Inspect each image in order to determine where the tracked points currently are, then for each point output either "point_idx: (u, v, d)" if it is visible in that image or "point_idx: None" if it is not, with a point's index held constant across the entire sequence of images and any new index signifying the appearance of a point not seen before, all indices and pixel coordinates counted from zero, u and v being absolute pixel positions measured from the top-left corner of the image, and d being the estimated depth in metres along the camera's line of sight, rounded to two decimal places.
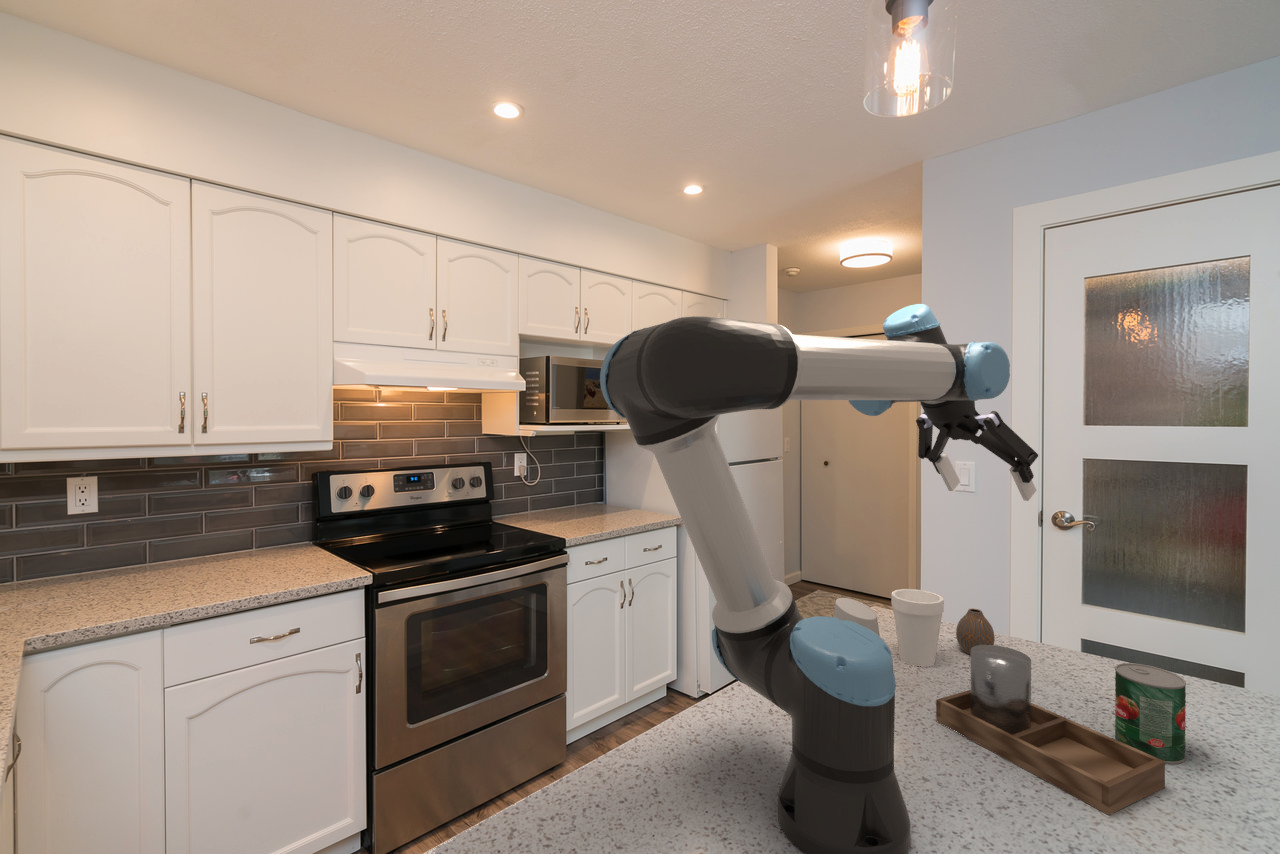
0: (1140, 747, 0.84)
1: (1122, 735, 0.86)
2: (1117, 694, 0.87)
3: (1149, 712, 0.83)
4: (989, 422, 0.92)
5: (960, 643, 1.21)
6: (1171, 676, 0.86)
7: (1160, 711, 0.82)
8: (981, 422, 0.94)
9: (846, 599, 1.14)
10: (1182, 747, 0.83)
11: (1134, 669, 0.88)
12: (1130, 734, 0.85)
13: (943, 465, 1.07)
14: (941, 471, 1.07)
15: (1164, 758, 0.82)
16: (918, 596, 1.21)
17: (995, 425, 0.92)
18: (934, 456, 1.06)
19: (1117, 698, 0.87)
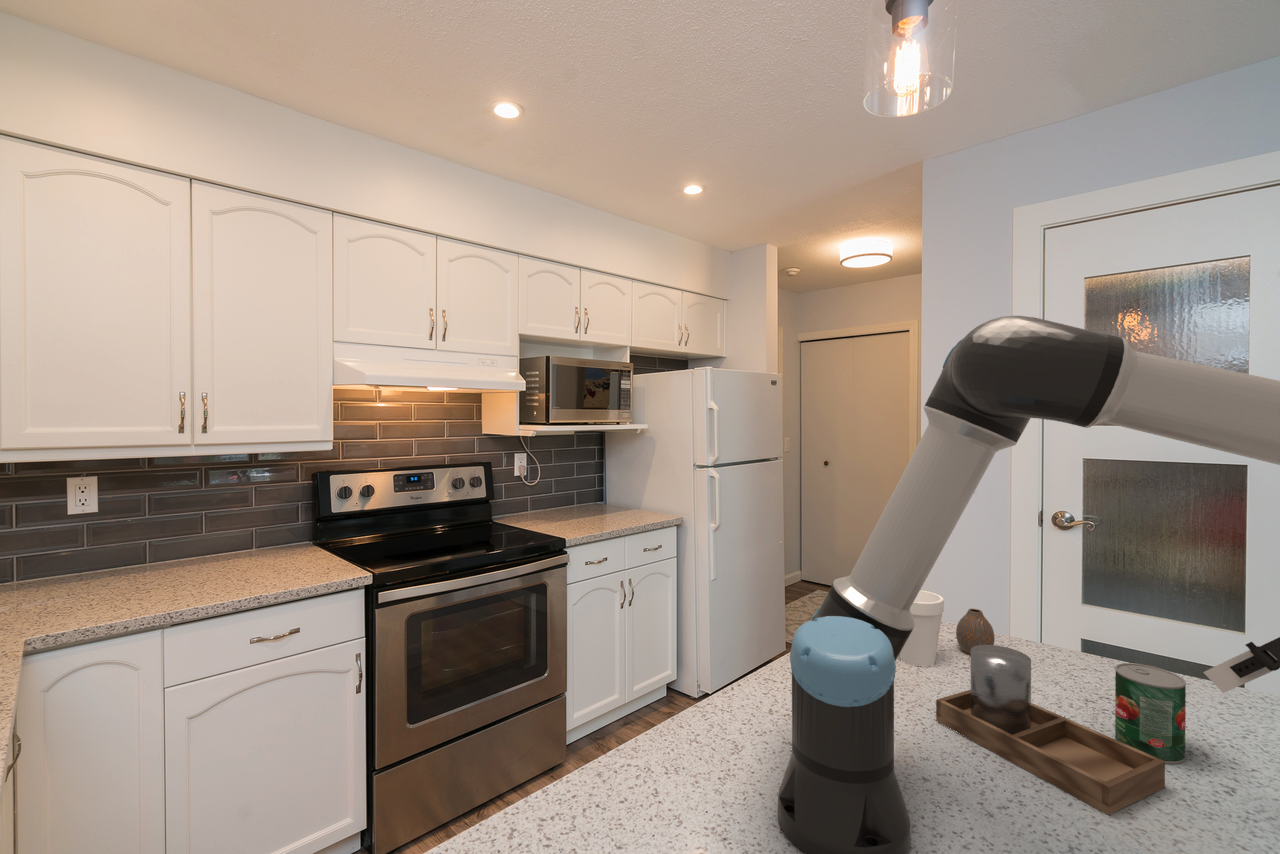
0: (1140, 747, 0.84)
1: (1122, 735, 0.86)
2: (1117, 694, 0.87)
3: (1149, 712, 0.83)
4: None
5: (960, 643, 1.21)
6: (1171, 676, 0.86)
7: (1160, 711, 0.82)
8: None
9: None
10: (1182, 747, 0.83)
11: (1134, 669, 0.88)
12: (1130, 734, 0.85)
13: None
14: None
15: (1164, 758, 0.82)
16: (918, 596, 1.21)
17: None
18: None
19: (1117, 698, 0.87)
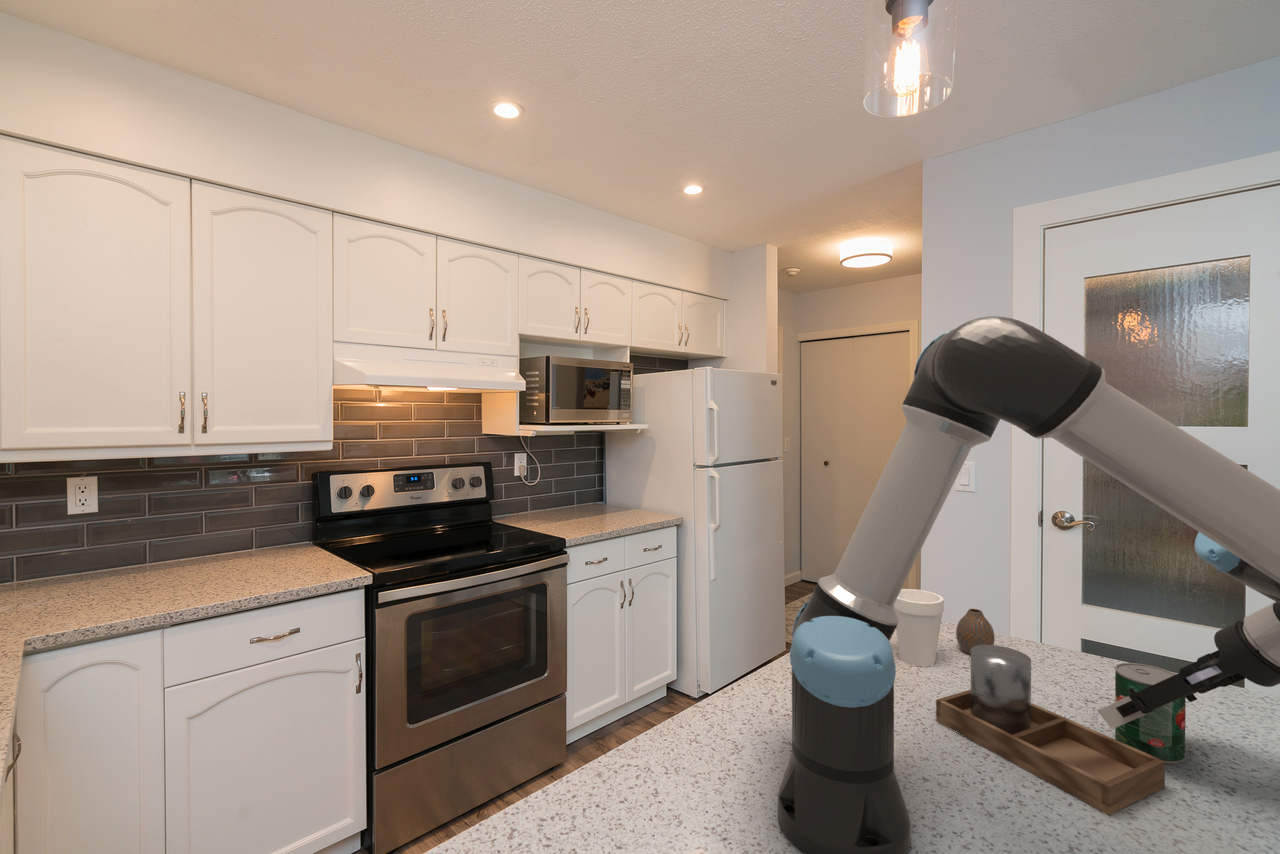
0: (1140, 747, 0.84)
1: (1122, 734, 0.86)
2: (1117, 693, 0.87)
3: None
4: (1189, 668, 0.76)
5: (960, 643, 1.21)
6: (1171, 676, 0.86)
7: (1160, 711, 0.82)
8: None
9: None
10: (1182, 747, 0.83)
11: (1134, 669, 0.88)
12: (1130, 734, 0.85)
13: None
14: None
15: (1164, 758, 0.82)
16: (919, 596, 1.21)
17: (1186, 675, 0.77)
18: None
19: (1117, 698, 0.87)
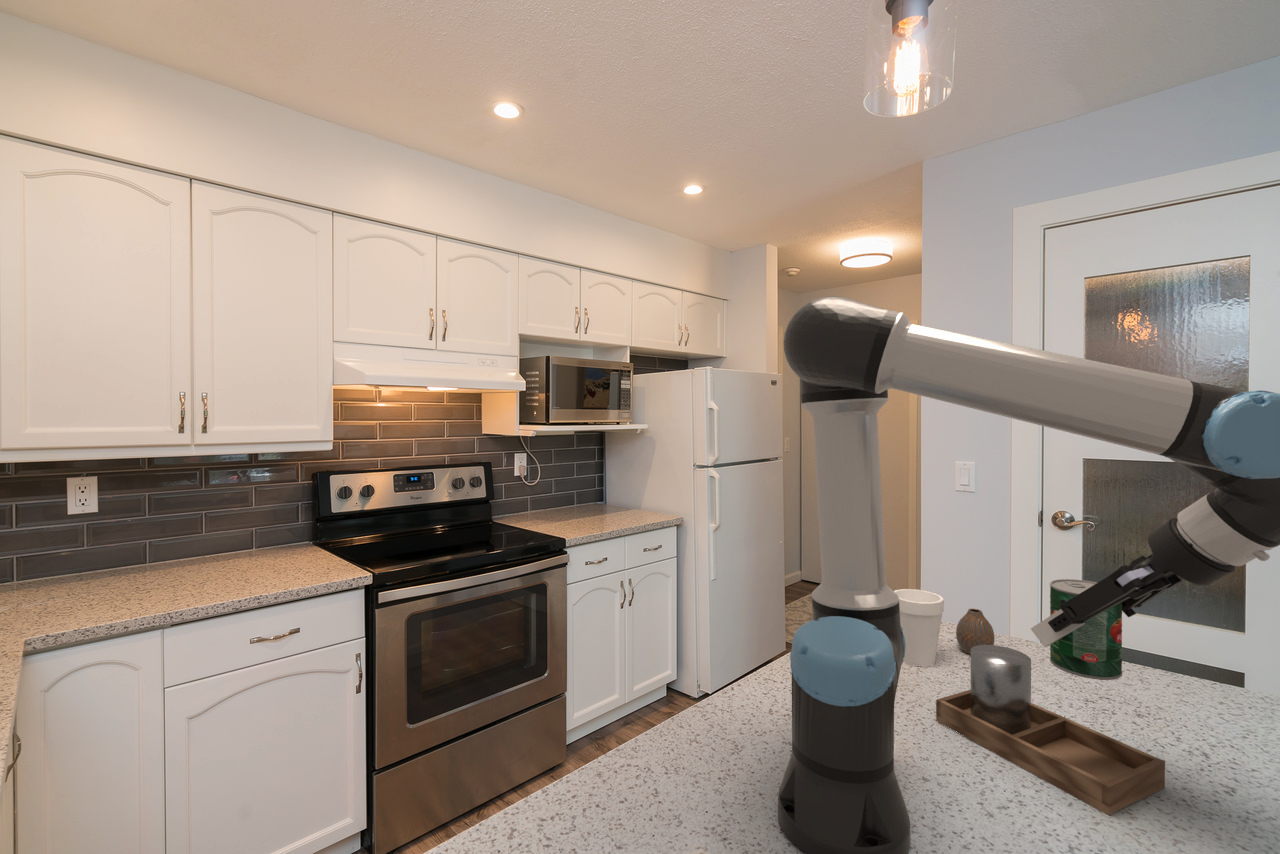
0: (1073, 664, 0.78)
1: (1055, 653, 0.80)
2: (1051, 609, 0.81)
3: None
4: (1119, 568, 0.70)
5: (960, 643, 1.21)
6: None
7: (1093, 623, 0.76)
8: None
9: None
10: (1118, 662, 0.76)
11: (1070, 584, 0.82)
12: (1063, 651, 0.79)
13: None
14: None
15: (1098, 674, 0.76)
16: (918, 596, 1.21)
17: (1116, 577, 0.71)
18: None
19: (1051, 614, 0.81)
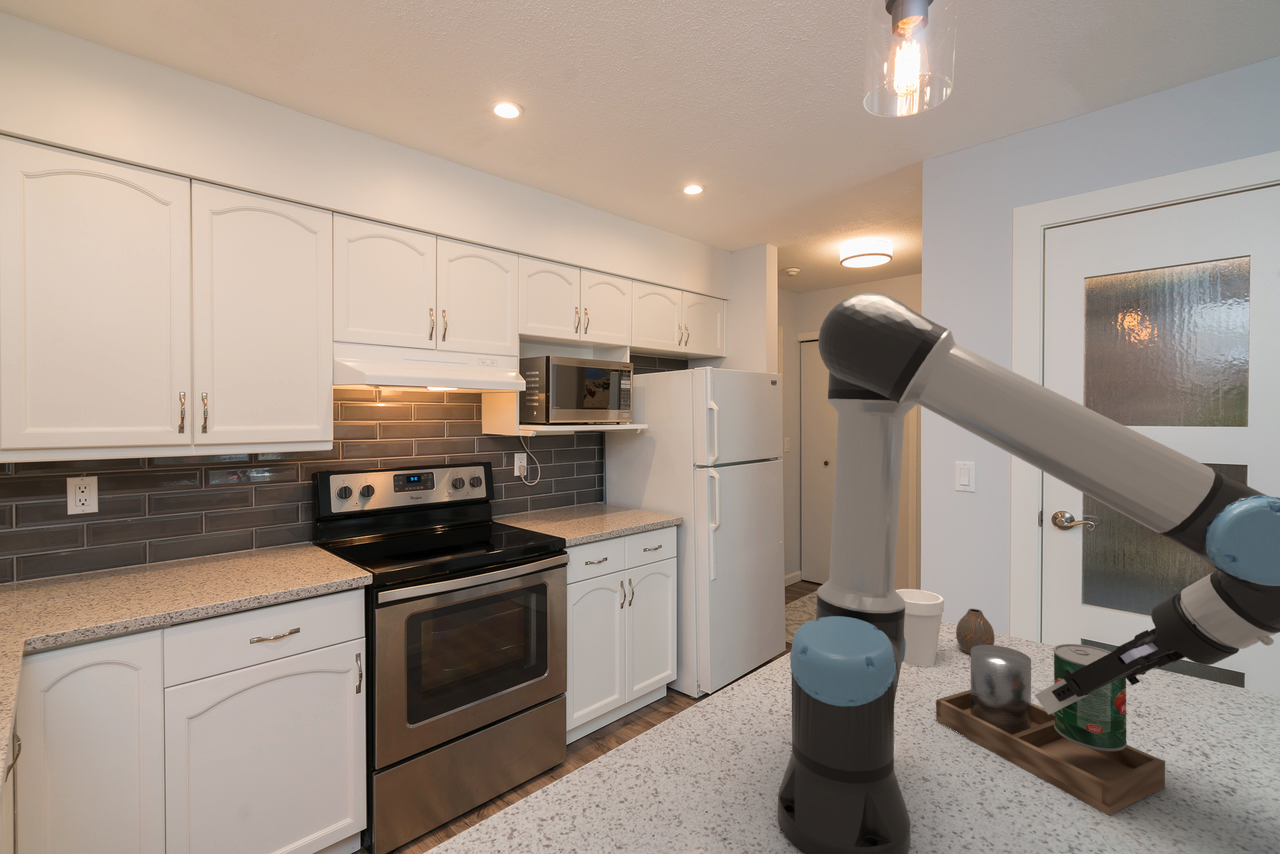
0: (1077, 734, 0.78)
1: (1060, 720, 0.80)
2: (1055, 676, 0.81)
3: None
4: (1123, 645, 0.70)
5: (960, 643, 1.21)
6: None
7: (1097, 694, 0.76)
8: None
9: None
10: (1122, 733, 0.76)
11: (1074, 650, 0.82)
12: (1068, 720, 0.79)
13: None
14: None
15: (1103, 745, 0.76)
16: (918, 596, 1.21)
17: (1120, 654, 0.71)
18: None
19: (1055, 681, 0.81)
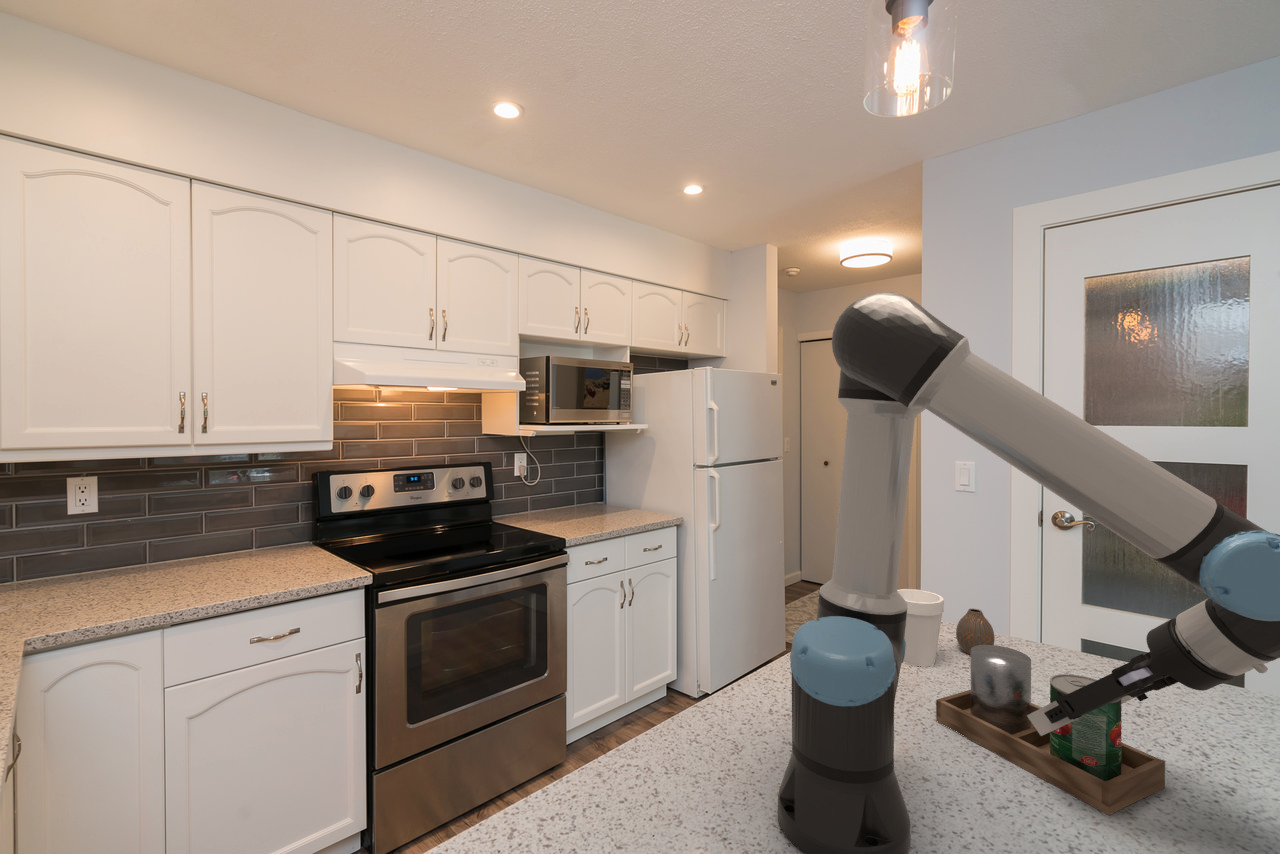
0: None
1: (1055, 751, 0.80)
2: None
3: (1082, 727, 0.77)
4: (1122, 667, 0.70)
5: (960, 643, 1.21)
6: None
7: (1093, 726, 0.77)
8: None
9: None
10: (1117, 765, 0.77)
11: (1070, 681, 0.82)
12: (1063, 751, 0.79)
13: None
14: None
15: (1097, 777, 0.77)
16: (919, 596, 1.21)
17: (1118, 676, 0.70)
18: None
19: None
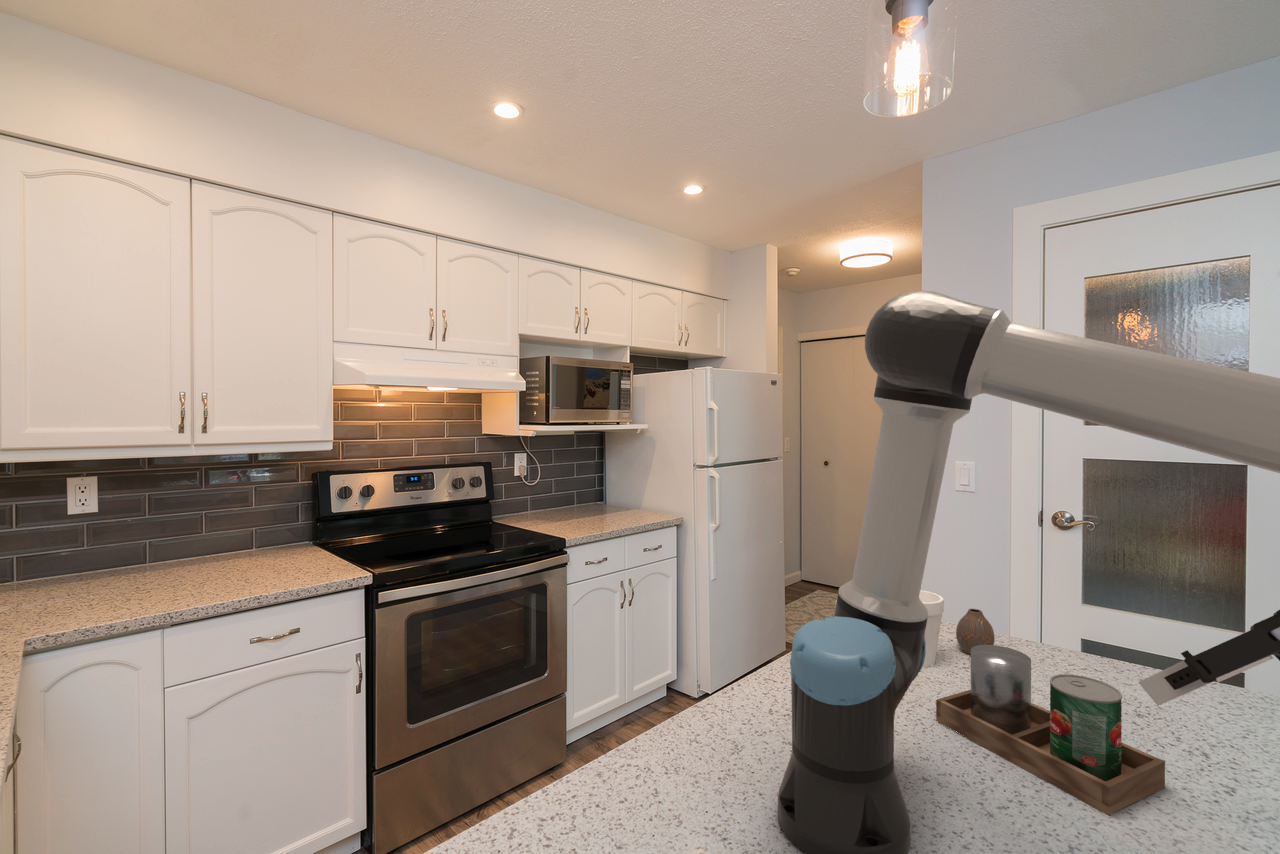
0: None
1: (1055, 751, 0.80)
2: (1051, 707, 0.81)
3: (1082, 727, 0.77)
4: (1278, 617, 0.58)
5: (960, 643, 1.21)
6: (1107, 689, 0.80)
7: (1093, 727, 0.77)
8: None
9: None
10: (1117, 766, 0.77)
11: (1070, 681, 0.82)
12: (1063, 752, 0.79)
13: None
14: None
15: (1097, 777, 0.77)
16: None
17: (1272, 628, 0.58)
18: None
19: (1051, 712, 0.81)
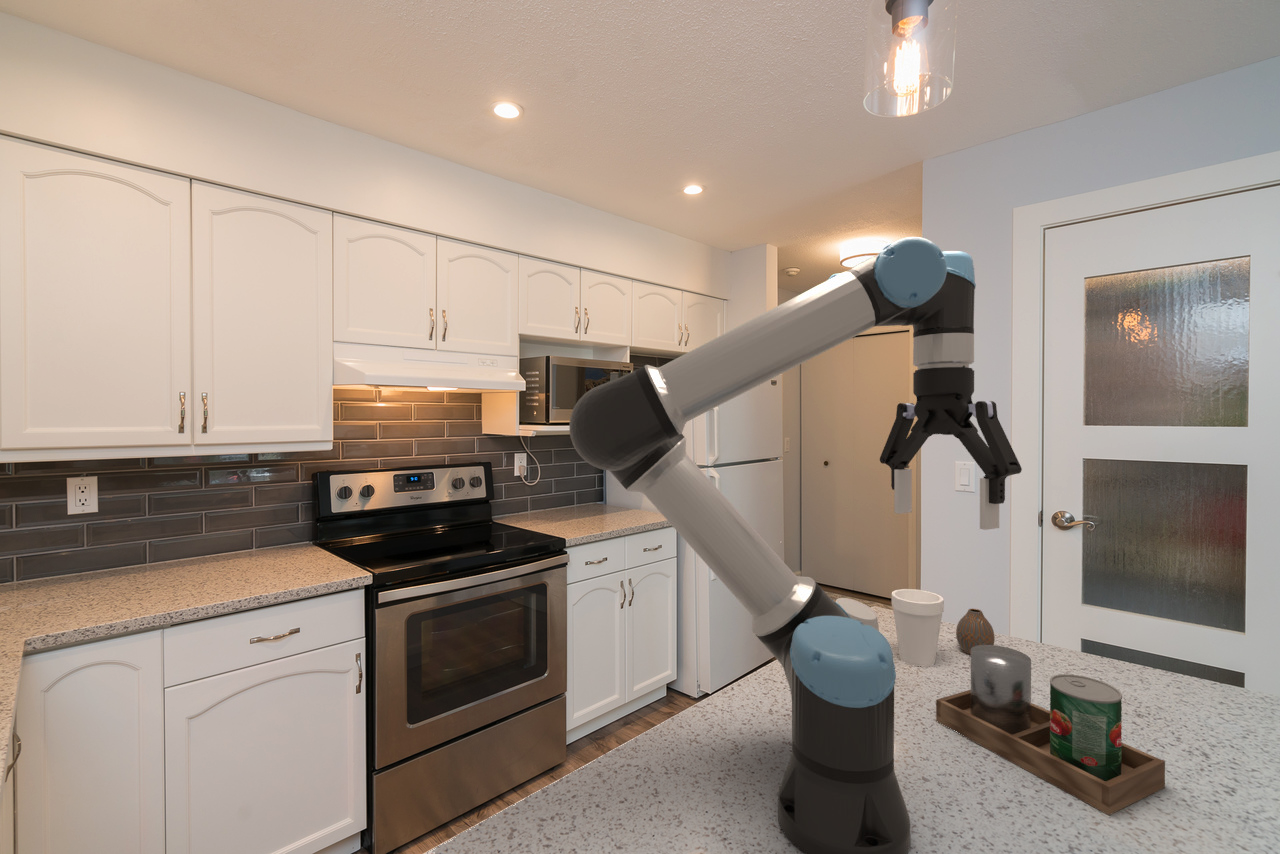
0: None
1: (1055, 751, 0.80)
2: (1051, 707, 0.81)
3: (1082, 727, 0.77)
4: (982, 405, 0.75)
5: (960, 643, 1.21)
6: (1107, 689, 0.80)
7: (1093, 727, 0.77)
8: (972, 409, 0.77)
9: (846, 599, 1.14)
10: (1117, 766, 0.77)
11: (1070, 681, 0.82)
12: (1063, 752, 0.79)
13: (902, 477, 0.87)
14: (897, 482, 0.87)
15: (1097, 777, 0.77)
16: (919, 596, 1.21)
17: (987, 413, 0.75)
18: (897, 459, 0.87)
19: (1051, 712, 0.81)
